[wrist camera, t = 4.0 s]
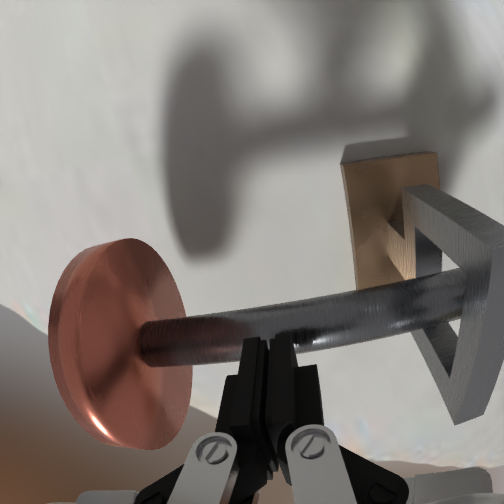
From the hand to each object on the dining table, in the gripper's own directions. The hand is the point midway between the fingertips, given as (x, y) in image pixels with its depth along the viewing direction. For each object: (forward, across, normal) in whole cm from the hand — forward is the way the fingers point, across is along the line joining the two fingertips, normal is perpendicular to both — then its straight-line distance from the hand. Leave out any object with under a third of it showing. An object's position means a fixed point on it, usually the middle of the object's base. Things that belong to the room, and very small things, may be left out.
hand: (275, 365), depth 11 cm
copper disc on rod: (+7, -2, 0) cm, 7 cm away
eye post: (+10, -8, 0) cm, 13 cm away
